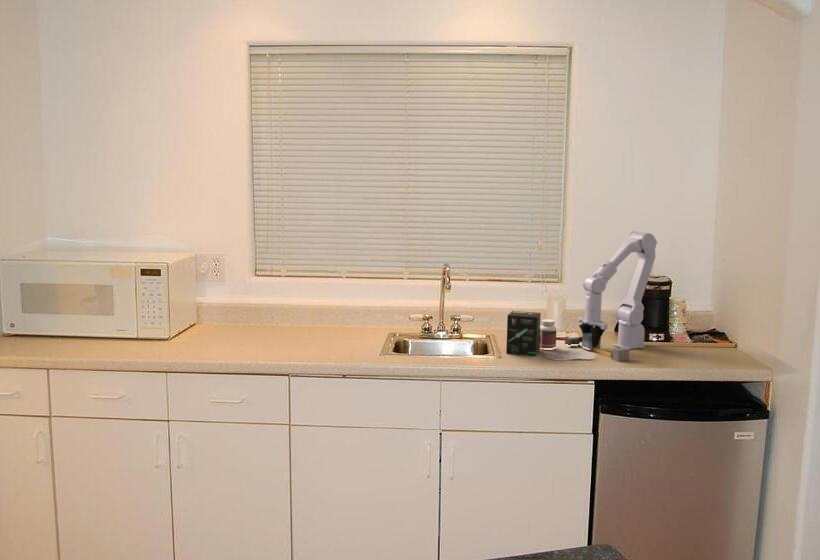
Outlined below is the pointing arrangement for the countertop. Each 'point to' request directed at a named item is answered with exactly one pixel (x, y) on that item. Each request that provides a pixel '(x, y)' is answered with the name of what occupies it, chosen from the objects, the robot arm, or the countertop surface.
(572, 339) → the comb
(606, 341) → the countertop surface
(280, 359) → the countertop surface
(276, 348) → the countertop surface
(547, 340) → the pill bottle
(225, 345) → the countertop surface
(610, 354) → the hammer
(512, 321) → the tampon box
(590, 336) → the sleeve
